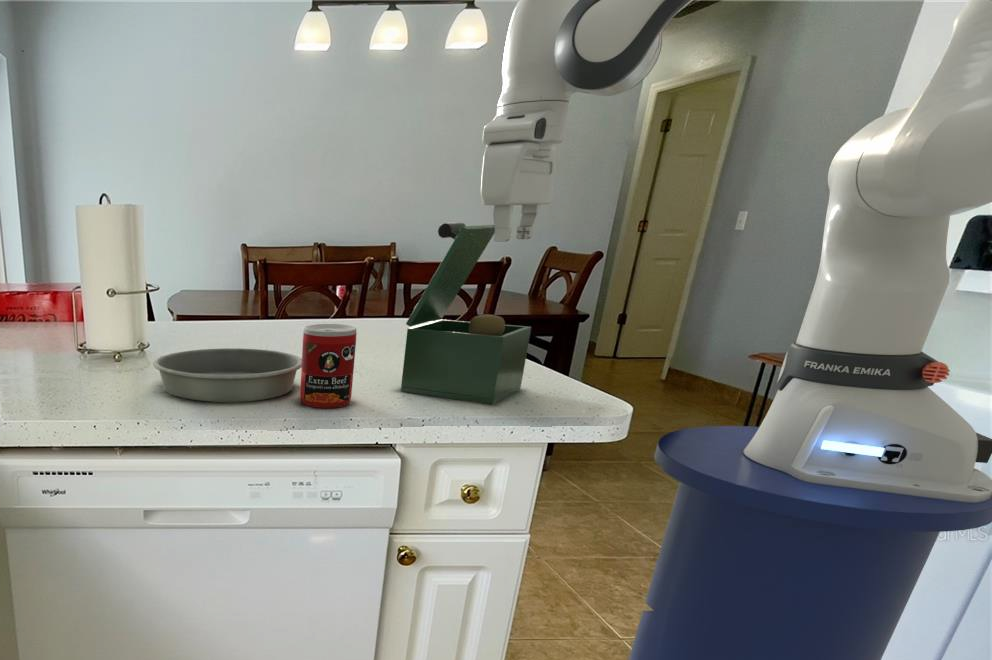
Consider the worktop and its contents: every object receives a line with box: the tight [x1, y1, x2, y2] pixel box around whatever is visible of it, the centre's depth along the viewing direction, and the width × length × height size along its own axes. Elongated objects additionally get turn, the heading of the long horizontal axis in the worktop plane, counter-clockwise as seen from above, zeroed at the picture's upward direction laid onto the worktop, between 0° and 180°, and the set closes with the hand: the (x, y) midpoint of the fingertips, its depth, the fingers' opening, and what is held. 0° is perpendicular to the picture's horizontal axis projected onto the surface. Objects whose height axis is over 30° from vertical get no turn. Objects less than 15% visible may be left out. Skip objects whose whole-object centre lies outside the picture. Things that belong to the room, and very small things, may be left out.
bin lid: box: [405, 222, 495, 327], centre depth 110 cm, size 16×13×5 cm
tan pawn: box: [468, 314, 506, 336], centre depth 110 cm, size 6×6×11 cm
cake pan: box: [152, 347, 302, 403], centre depth 117 cm, size 25×25×4 cm
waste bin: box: [400, 318, 532, 406], centre depth 112 cm, size 15×13×10 cm
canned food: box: [299, 323, 357, 409], centre depth 106 cm, size 8×8×11 cm
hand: (513, 240), depth 102 cm, fingers open, 8 cm apart
